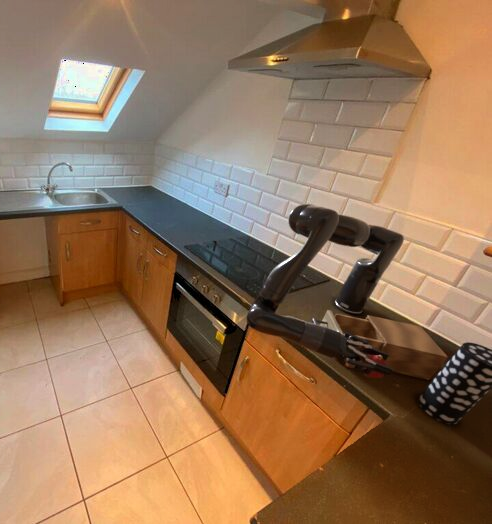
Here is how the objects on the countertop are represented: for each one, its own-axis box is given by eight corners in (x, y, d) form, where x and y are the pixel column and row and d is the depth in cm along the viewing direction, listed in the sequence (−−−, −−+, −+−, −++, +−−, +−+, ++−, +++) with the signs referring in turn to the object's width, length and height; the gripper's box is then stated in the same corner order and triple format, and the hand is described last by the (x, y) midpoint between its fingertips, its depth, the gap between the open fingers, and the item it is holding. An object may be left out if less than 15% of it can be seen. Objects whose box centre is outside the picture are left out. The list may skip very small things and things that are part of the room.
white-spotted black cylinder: (428, 392, 84) (473, 339, 75) (464, 419, 78) (519, 364, 68) (410, 400, 81) (455, 345, 72) (446, 428, 75) (500, 373, 65)
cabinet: (371, 366, 91) (386, 343, 87) (354, 336, 103) (367, 315, 98) (428, 380, 88) (447, 356, 84) (405, 348, 100) (421, 326, 96)
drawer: (313, 348, 94) (322, 330, 90) (304, 324, 105) (312, 306, 101) (380, 364, 91) (393, 346, 87) (364, 337, 101) (375, 319, 98)
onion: (356, 364, 86) (369, 343, 82) (379, 375, 83) (394, 355, 79) (353, 375, 82) (367, 355, 78) (378, 388, 79) (393, 367, 75)
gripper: (323, 344, 78) (402, 373, 71) (323, 315, 89) (391, 338, 83) (312, 364, 81) (386, 394, 75) (313, 333, 93) (377, 357, 86)
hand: (388, 364), depth 79 cm, fingers closed on onion, 5 cm apart
